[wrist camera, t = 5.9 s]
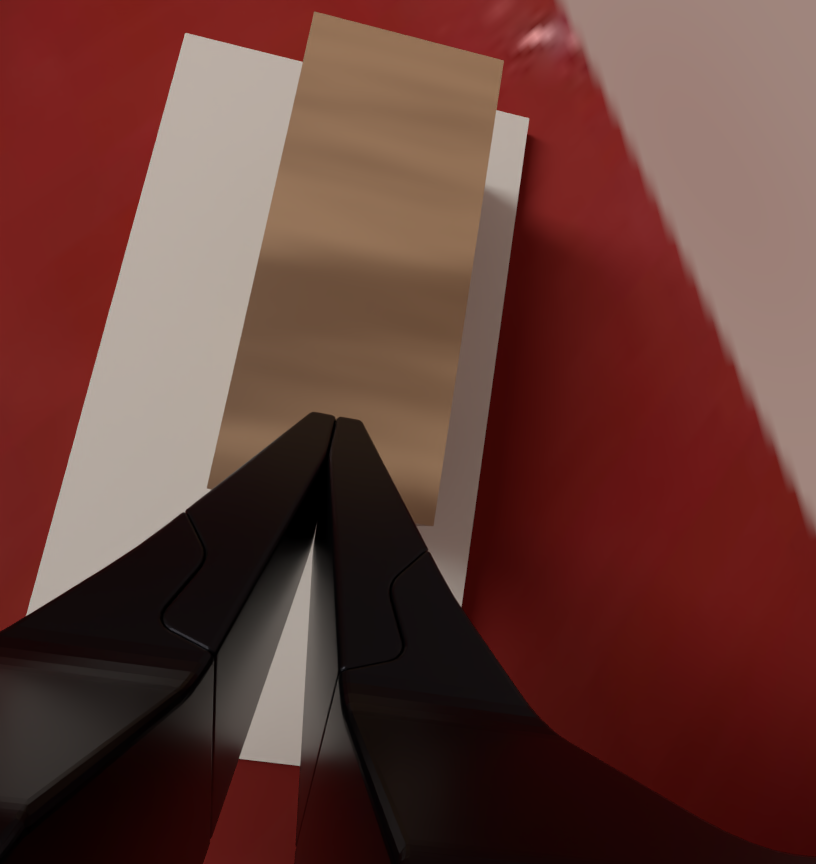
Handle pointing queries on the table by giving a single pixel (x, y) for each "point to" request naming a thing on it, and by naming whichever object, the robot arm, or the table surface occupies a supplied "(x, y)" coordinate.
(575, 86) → the table surface
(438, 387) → the walnut block
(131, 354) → the mat
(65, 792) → the robot arm
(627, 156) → the table surface
